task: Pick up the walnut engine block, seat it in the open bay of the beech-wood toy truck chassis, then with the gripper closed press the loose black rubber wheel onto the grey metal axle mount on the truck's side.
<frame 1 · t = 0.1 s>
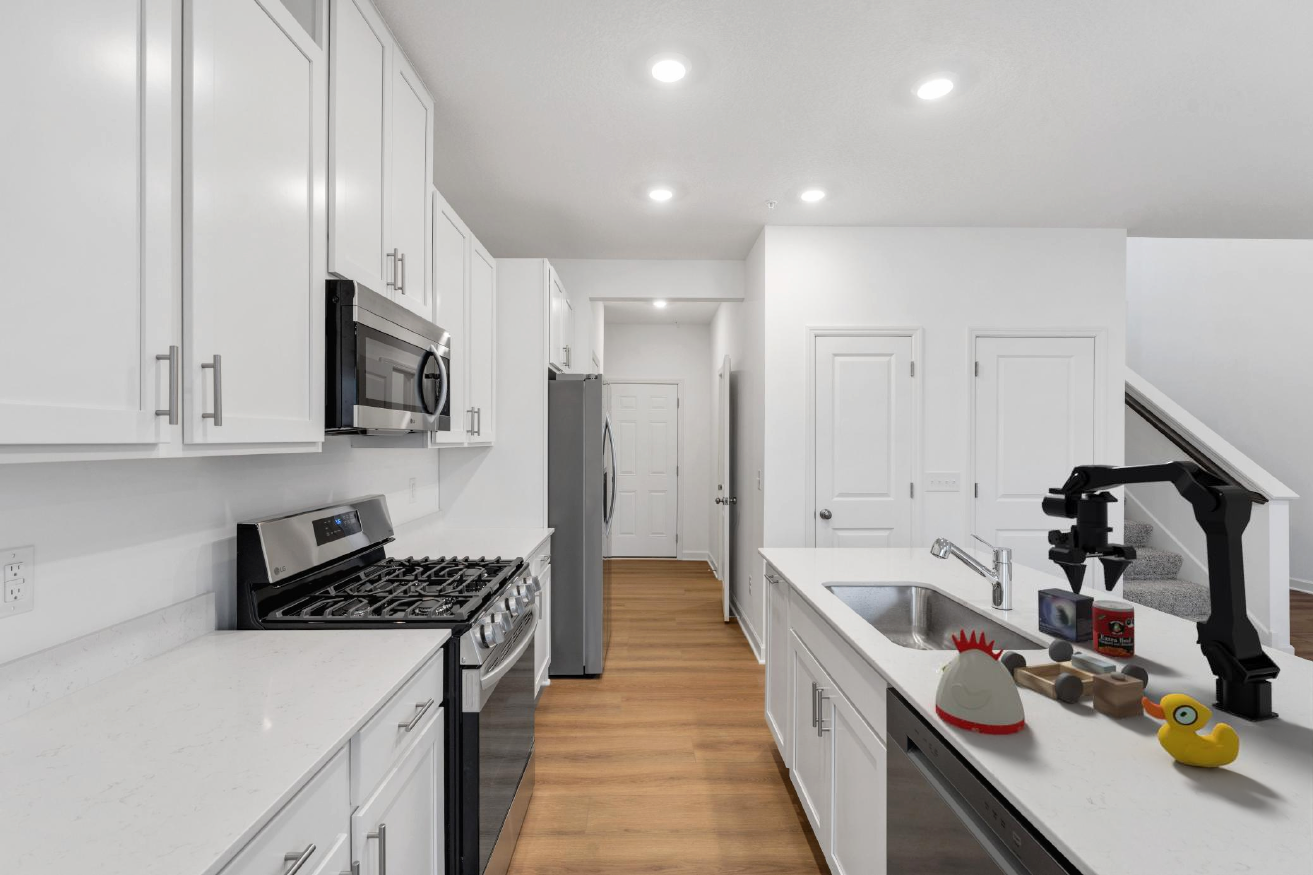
hand: (1092, 592, 138), 15 cm above the countertop, fingers open, 9 cm apart
wheel: (1060, 651, 135), point 3 cm above the countertop, slide at 0.0 cm
kitchen timer: (978, 717, 109), on the countertop
canned food: (1113, 653, 141), on the countertop
duckling: (1191, 764, 93), on the countertop
engine block: (1118, 712, 111), on the countertop
small box: (1065, 636, 154), on the countertop
chassis: (1069, 684, 123), on the countertop
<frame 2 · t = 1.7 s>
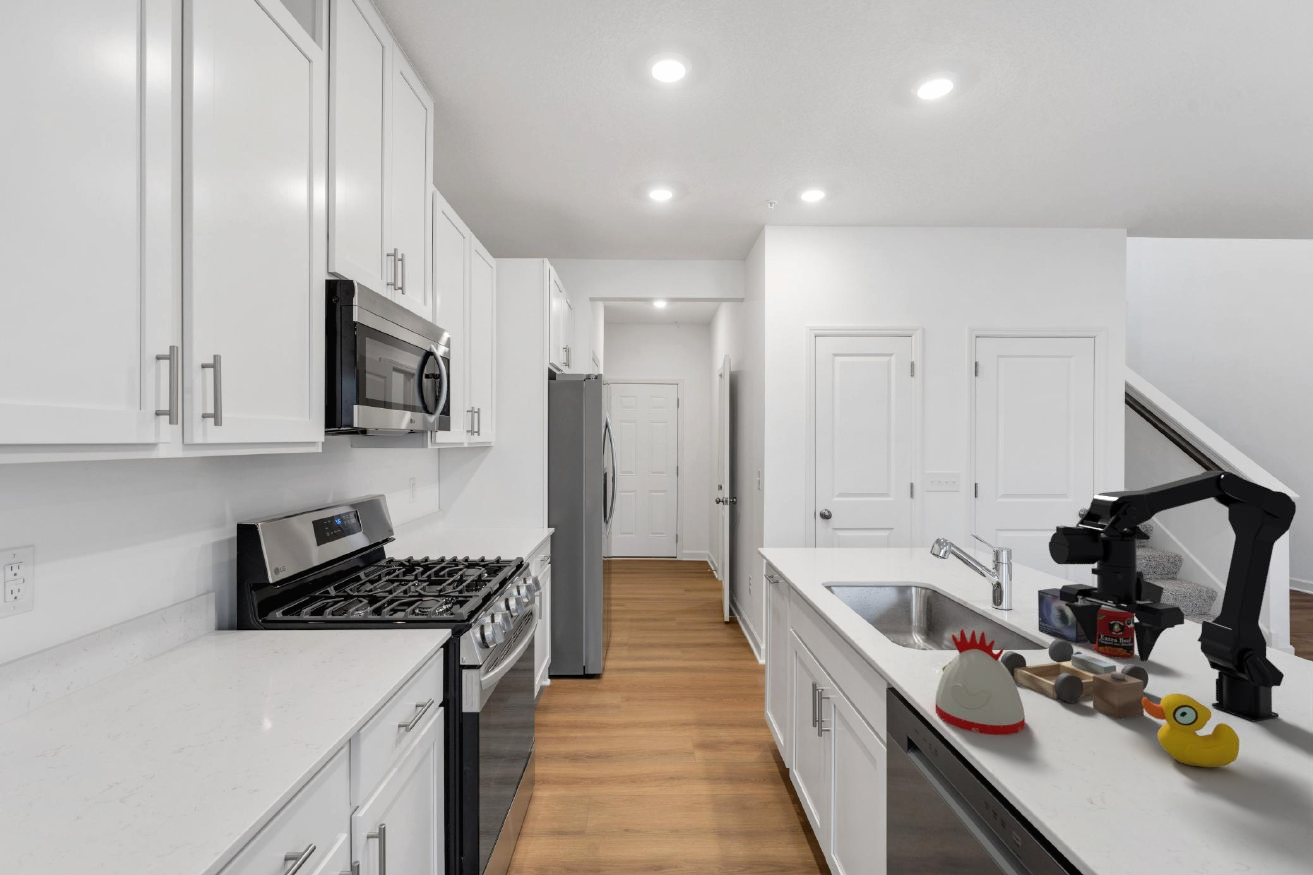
hand: (1117, 652, 111), 11 cm above the countertop, fingers open, 9 cm apart
nothing on the countertop moved.
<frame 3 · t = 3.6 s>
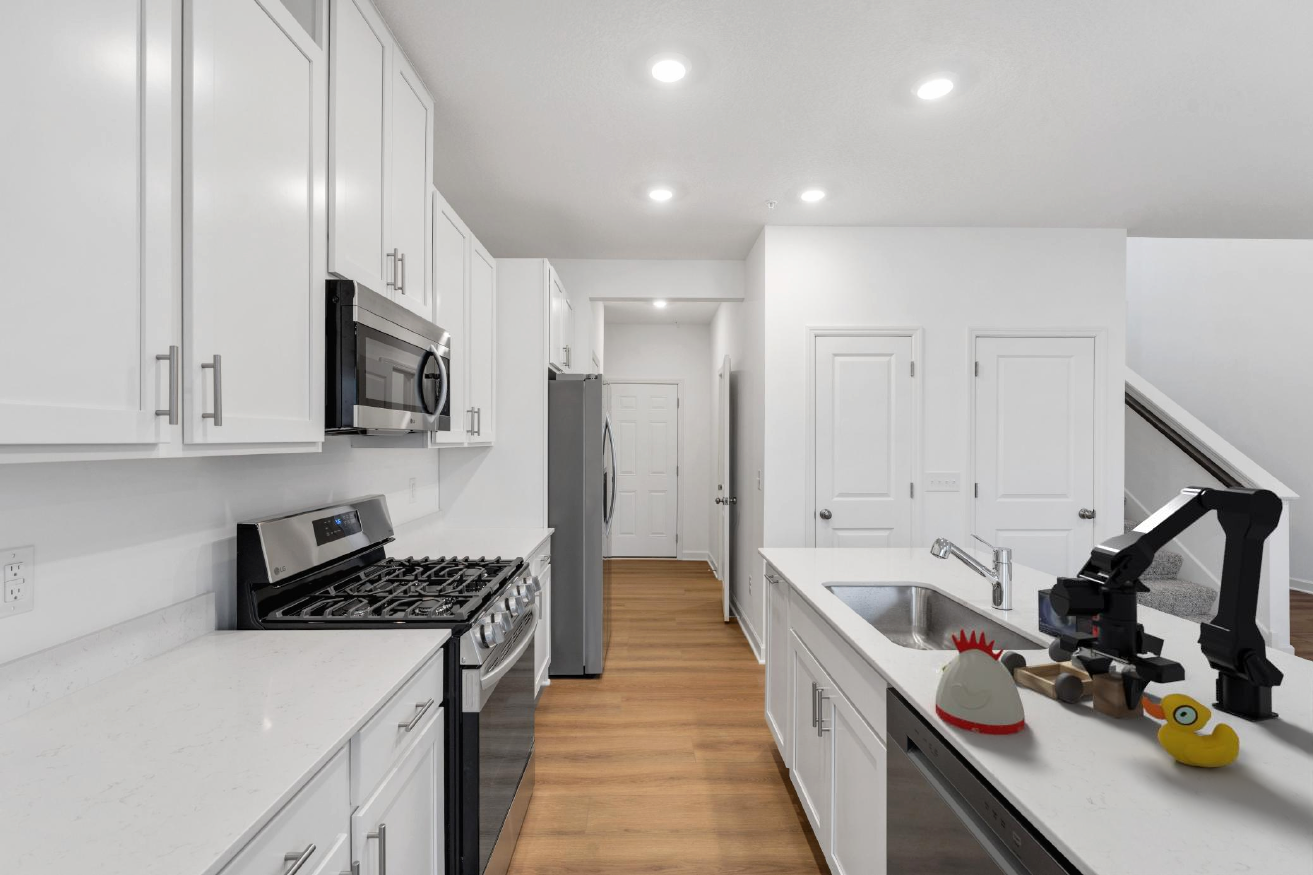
hand: (1118, 704, 111), 1 cm above the countertop, fingers closed on engine block, 4 cm apart
engine block: (1118, 711, 111), on the countertop, touching gripper
everything else where it was.
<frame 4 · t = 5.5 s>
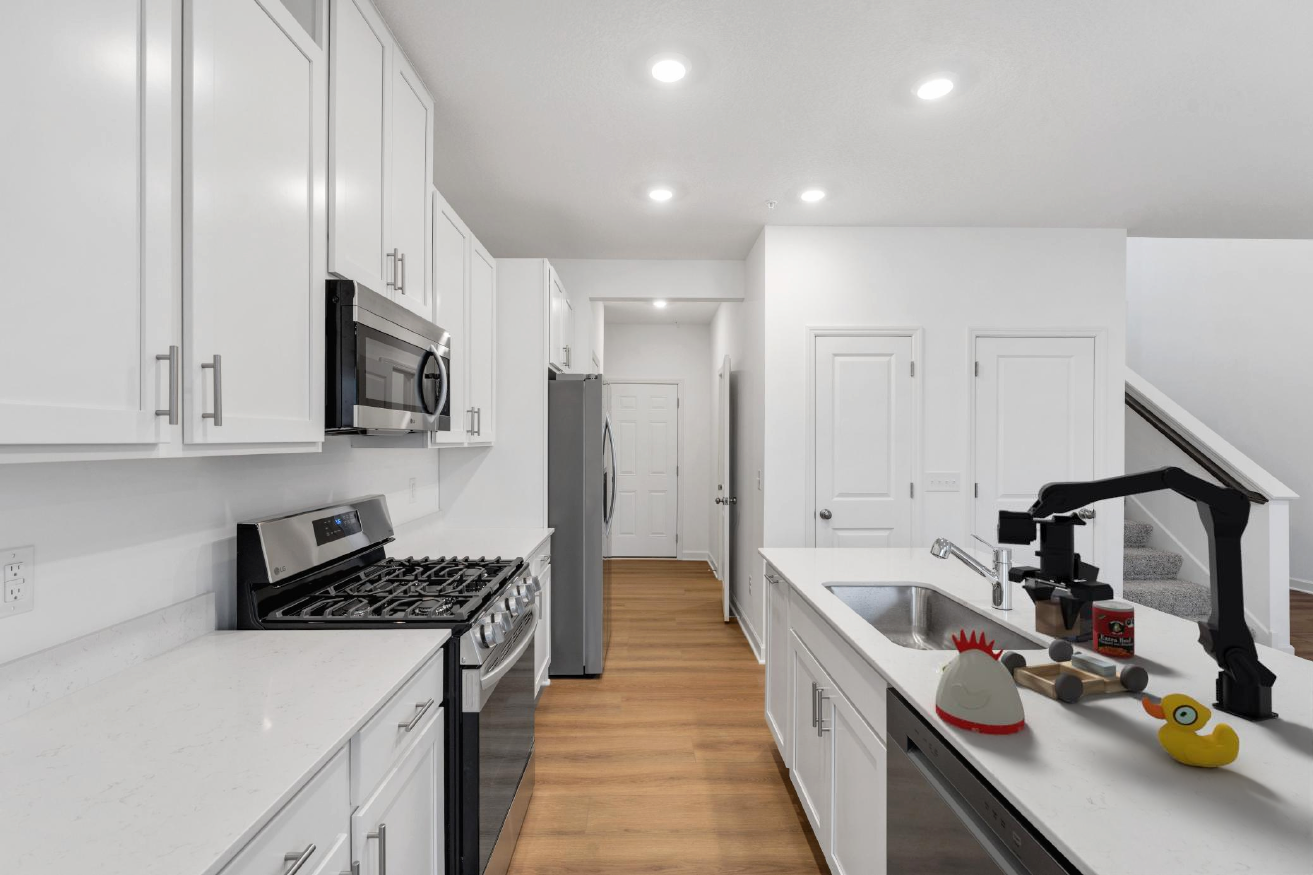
hand: (1057, 626, 122), 12 cm above the countertop, fingers closed on engine block, 4 cm apart
engine block: (1057, 633, 122), point 10 cm above the countertop, touching gripper
everything else where it was.
when the fingers open (3 cm above the countertop, at t = 7.7 s): engine block drops 2 cm, resting on chassis.
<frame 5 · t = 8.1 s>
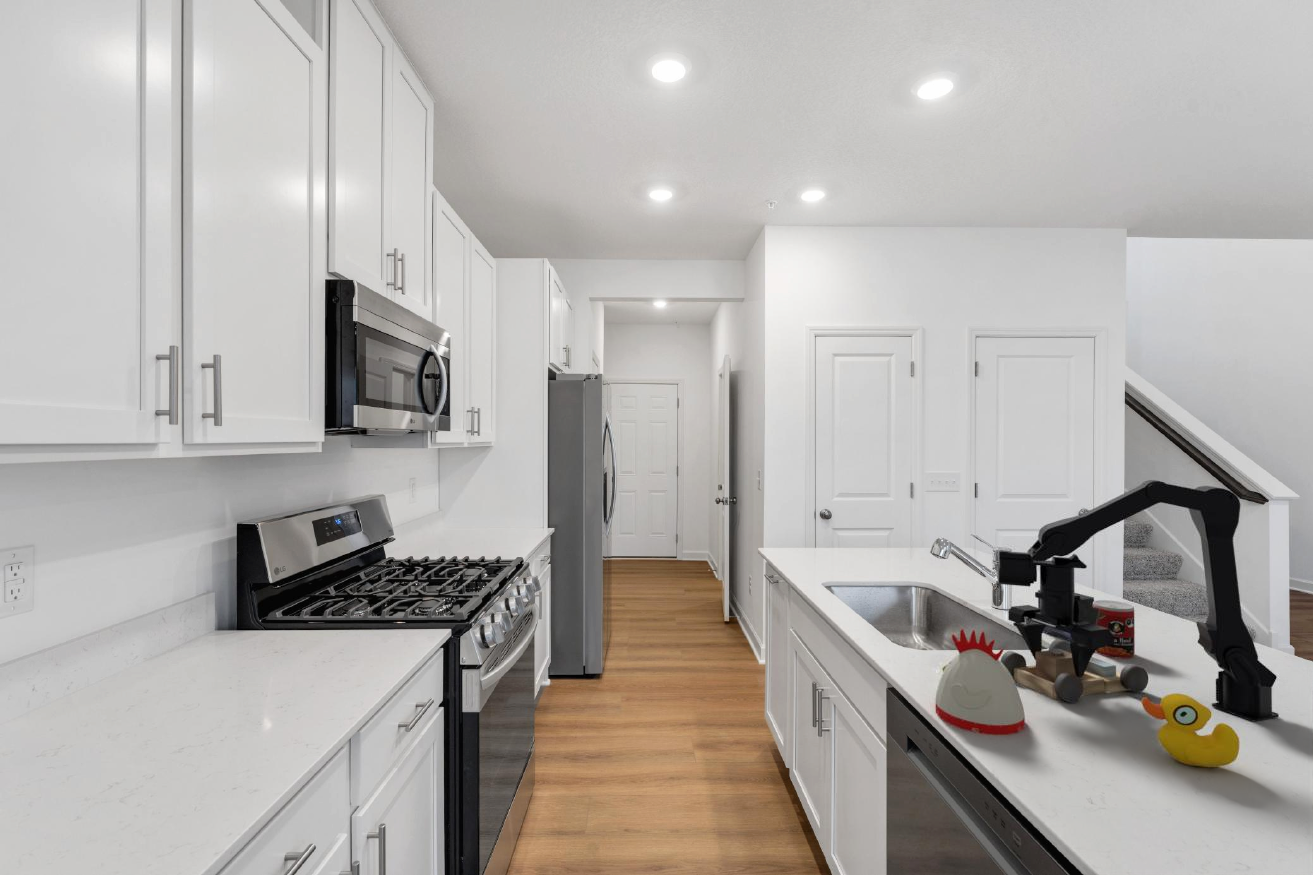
hand: (1058, 668, 122), 3 cm above the countertop, fingers open, 9 cm apart
engine block: (1057, 684, 122), resting on chassis
everything else where it was.
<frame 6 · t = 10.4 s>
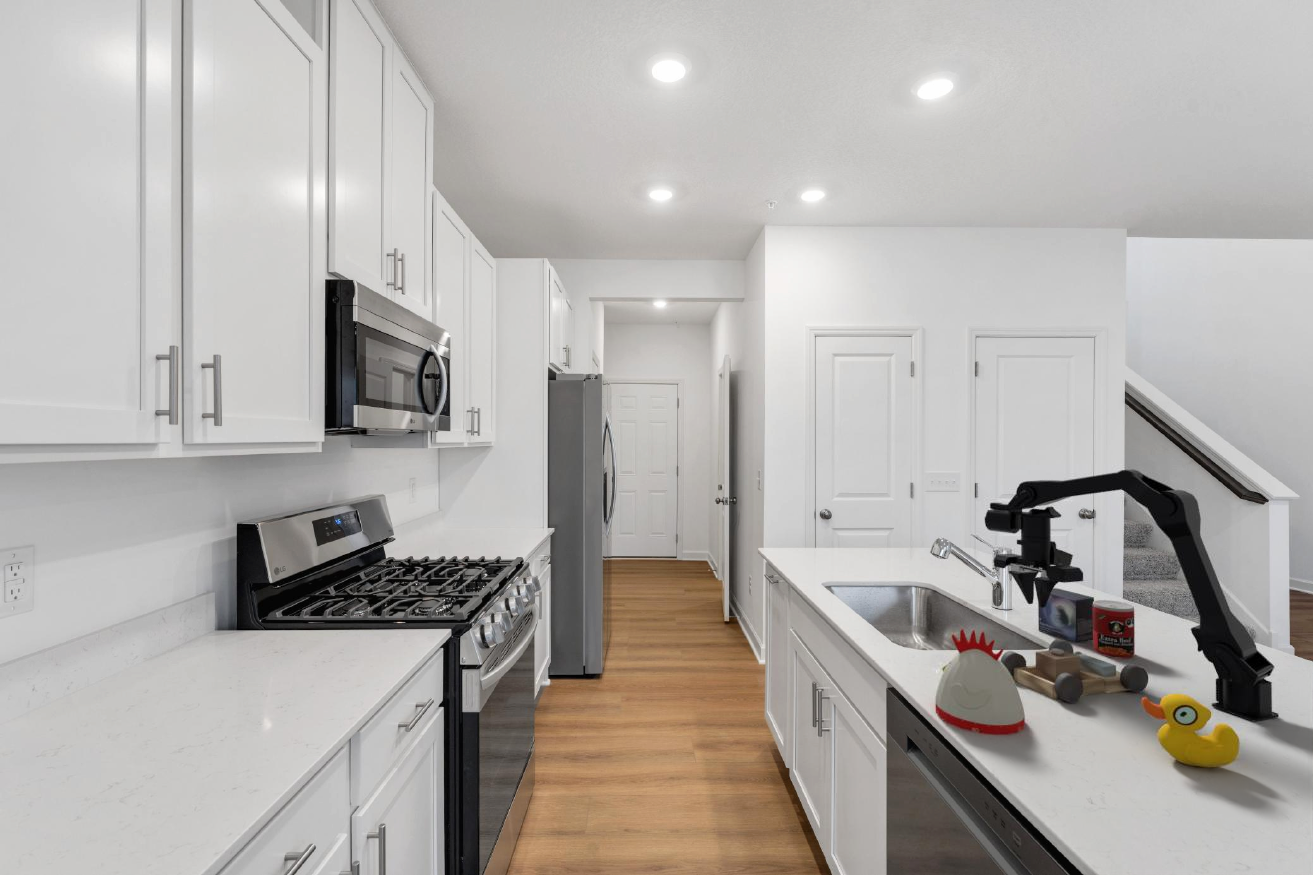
hand: (1036, 605, 141), 11 cm above the countertop, fingers open, 3 cm apart
nothing on the countertop moved.
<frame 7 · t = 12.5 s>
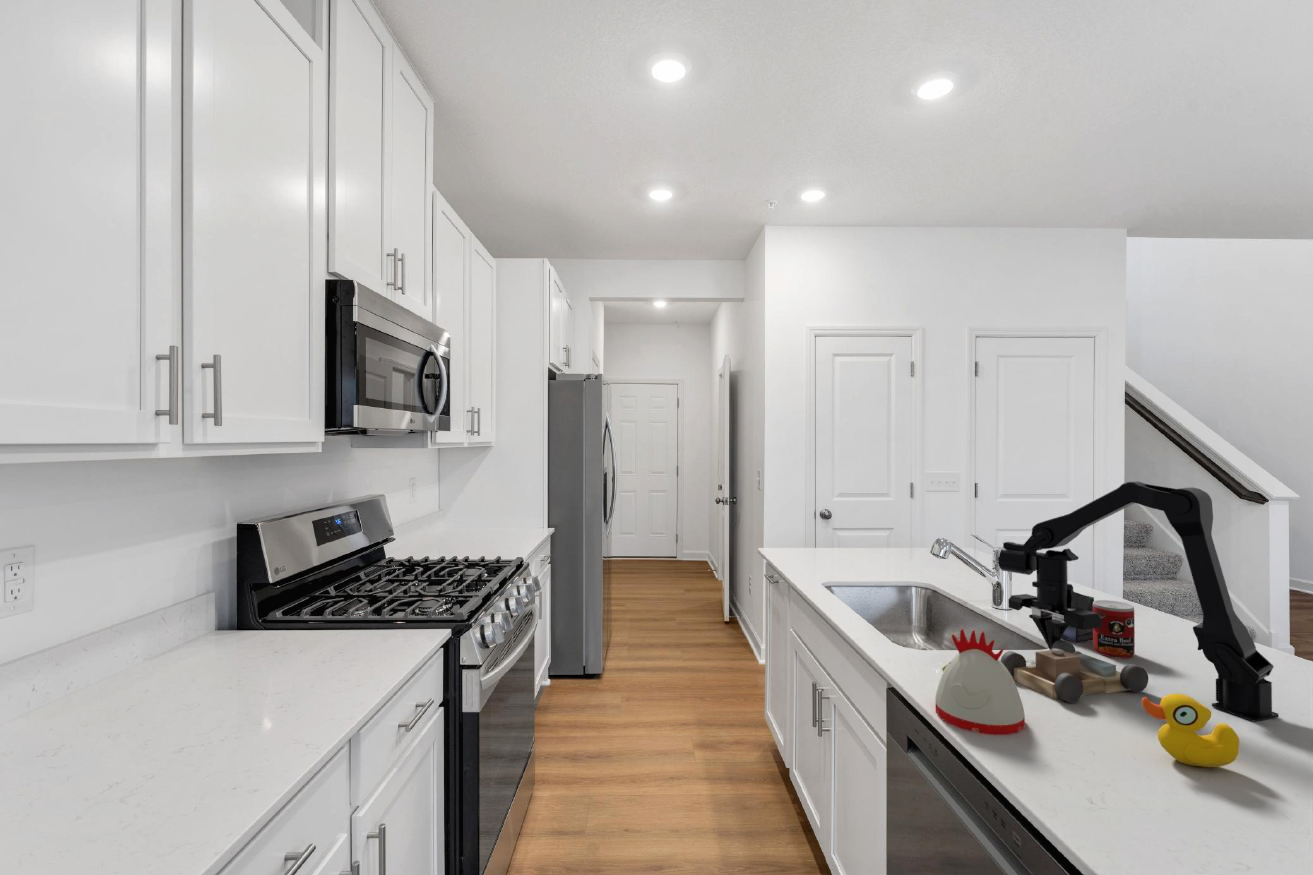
hand: (1053, 650, 137), 2 cm above the countertop, fingers closed
wheel: (1063, 652, 134), point 3 cm above the countertop, slide at 0.5 cm, touching gripper
everything else where it was.
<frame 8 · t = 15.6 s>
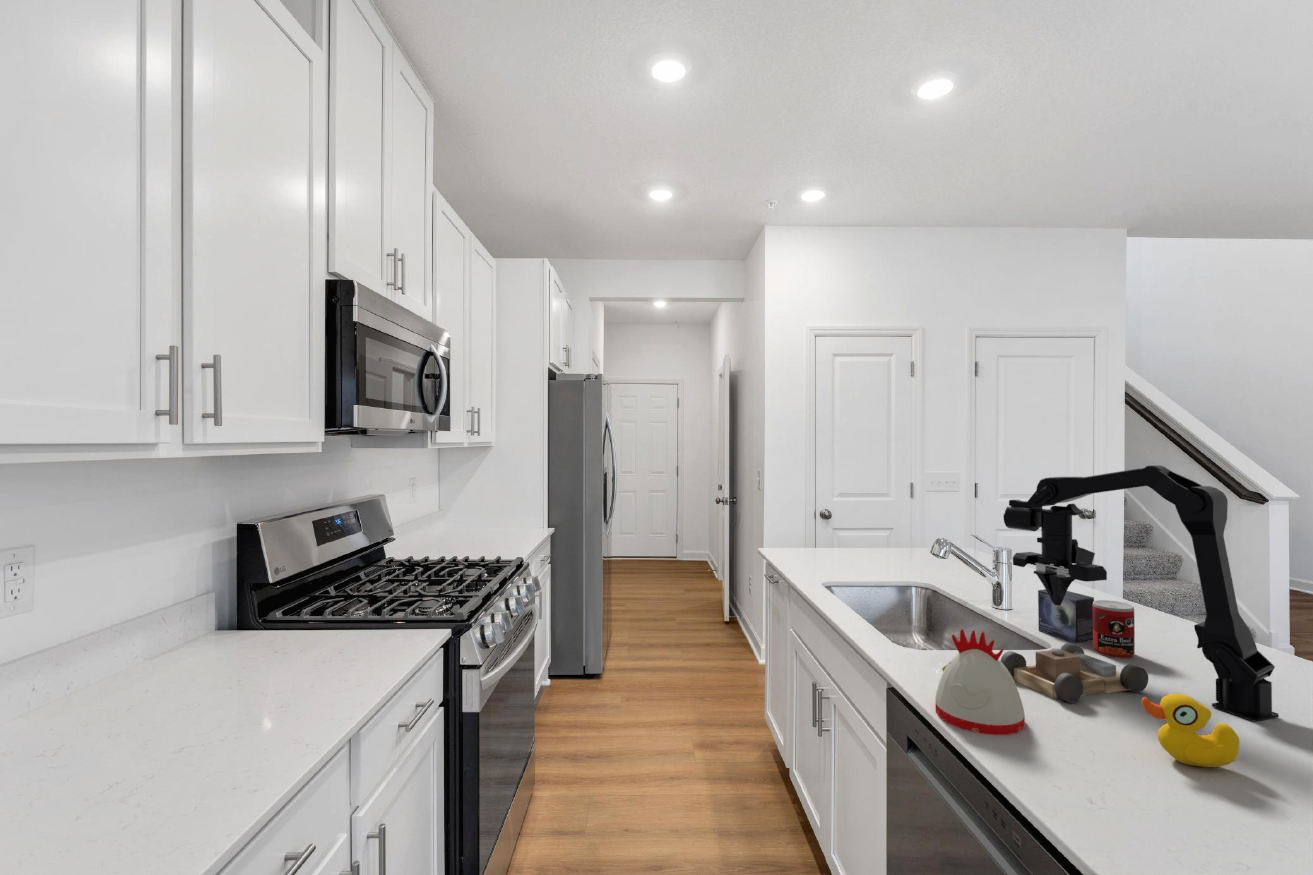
hand: (1057, 605, 137), 12 cm above the countertop, fingers closed
wheel: (1071, 655, 132), point 3 cm above the countertop, slide at 2.6 cm
everything else where it was.
at the end: engine block inside the target area (0.1 cm from its centre), resting on chassis; engine block tilted 0°; wheel slide at 2.6 cm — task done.
